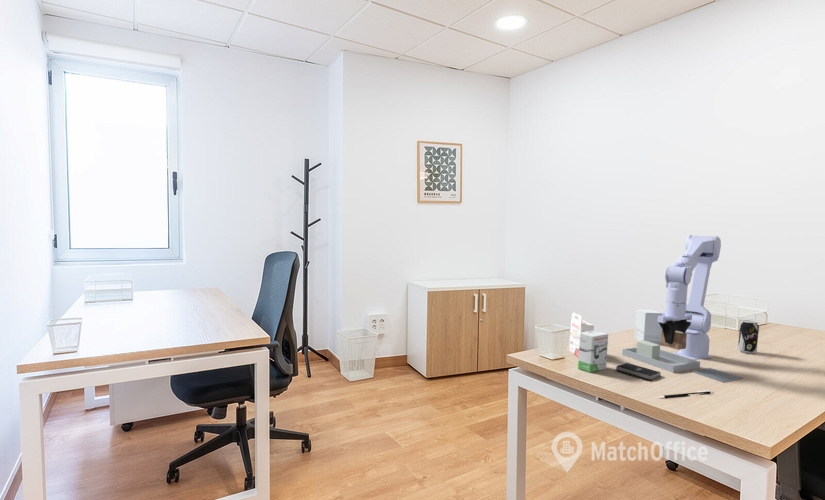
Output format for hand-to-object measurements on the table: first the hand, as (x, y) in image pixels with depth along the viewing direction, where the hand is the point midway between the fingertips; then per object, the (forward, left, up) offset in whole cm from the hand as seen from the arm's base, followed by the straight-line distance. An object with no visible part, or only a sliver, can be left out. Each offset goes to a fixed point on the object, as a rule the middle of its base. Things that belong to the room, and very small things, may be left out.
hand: (673, 342), depth 147 cm
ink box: (+28, -7, -8) cm, 30 cm away
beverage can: (-45, -1, -8) cm, 46 cm away
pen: (+20, +19, -9) cm, 29 cm away
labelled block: (0, 0, -1) cm, 1 cm away
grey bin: (0, -4, -8) cm, 9 cm away
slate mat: (-5, +12, -8) cm, 15 cm away
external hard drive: (+18, +2, -9) cm, 20 cm away
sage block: (0, -9, -8) cm, 12 cm away
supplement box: (-20, -24, -8) cm, 33 cm away
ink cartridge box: (+20, -20, -8) cm, 30 cm away
